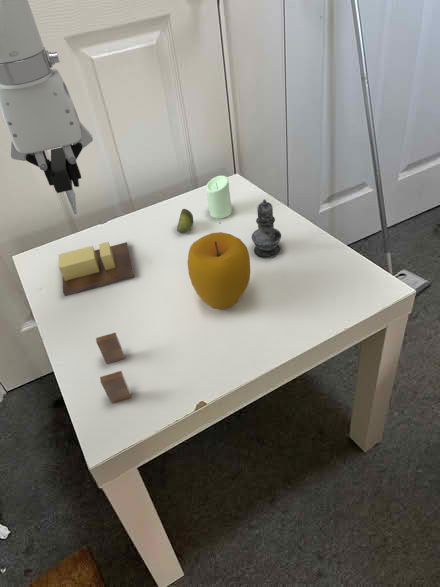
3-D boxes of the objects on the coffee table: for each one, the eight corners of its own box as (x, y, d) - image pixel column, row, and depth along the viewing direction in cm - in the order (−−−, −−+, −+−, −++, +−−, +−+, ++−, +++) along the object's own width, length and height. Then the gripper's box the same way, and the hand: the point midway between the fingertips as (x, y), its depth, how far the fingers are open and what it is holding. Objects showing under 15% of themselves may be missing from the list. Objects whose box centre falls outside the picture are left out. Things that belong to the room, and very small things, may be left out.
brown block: (111, 403, 70) (100, 382, 66) (105, 359, 77) (95, 337, 73) (131, 397, 71) (122, 375, 67) (124, 354, 77) (115, 332, 73)
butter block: (65, 281, 91) (58, 267, 89) (64, 267, 94) (58, 254, 92) (99, 272, 92) (94, 258, 90) (97, 258, 95) (92, 245, 93)
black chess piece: (247, 247, 94) (243, 197, 86) (272, 237, 95) (270, 187, 87) (261, 263, 90) (257, 211, 82) (287, 252, 91) (286, 201, 83)
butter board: (64, 295, 90) (62, 292, 89) (63, 262, 97) (61, 258, 97) (134, 277, 91) (133, 273, 91) (127, 245, 99) (126, 242, 98)
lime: (180, 238, 99) (176, 219, 95) (172, 227, 102) (167, 208, 99) (198, 231, 100) (195, 212, 96) (190, 220, 103) (186, 201, 100)
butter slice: (105, 270, 92) (100, 257, 90) (103, 257, 95) (98, 244, 93) (115, 267, 93) (110, 254, 90) (113, 254, 96) (108, 241, 93)
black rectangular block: (68, 221, 75) (50, 177, 69) (67, 191, 82) (50, 149, 77) (83, 218, 75) (66, 173, 70) (80, 188, 82) (64, 146, 77)
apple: (265, 303, 82) (261, 247, 73) (211, 329, 79) (201, 273, 70) (234, 270, 89) (228, 215, 80) (185, 292, 86) (172, 238, 77)
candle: (216, 221, 102) (211, 189, 96) (206, 211, 105) (201, 179, 100) (235, 213, 103) (232, 181, 98) (225, 203, 107) (221, 172, 101)
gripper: (78, 49, 67) (113, 164, 80) (-34, 72, 65) (19, 185, 78) (81, 64, 62) (117, 184, 74) (-42, 89, 60) (17, 208, 72)
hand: (67, 184), depth 76 cm, fingers closed on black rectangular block, 2 cm apart
